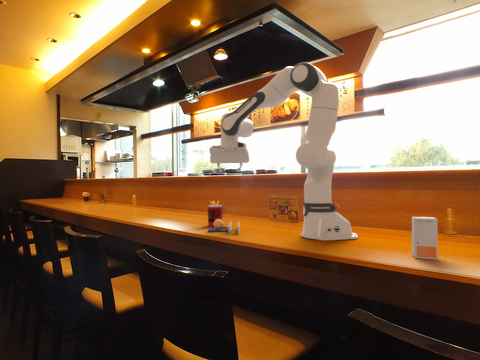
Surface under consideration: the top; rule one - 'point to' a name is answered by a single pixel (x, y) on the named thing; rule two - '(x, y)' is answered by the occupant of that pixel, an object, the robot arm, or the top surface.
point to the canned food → (214, 214)
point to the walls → (231, 227)
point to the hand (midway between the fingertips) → (229, 171)
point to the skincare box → (425, 237)
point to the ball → (218, 224)
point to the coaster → (217, 230)
